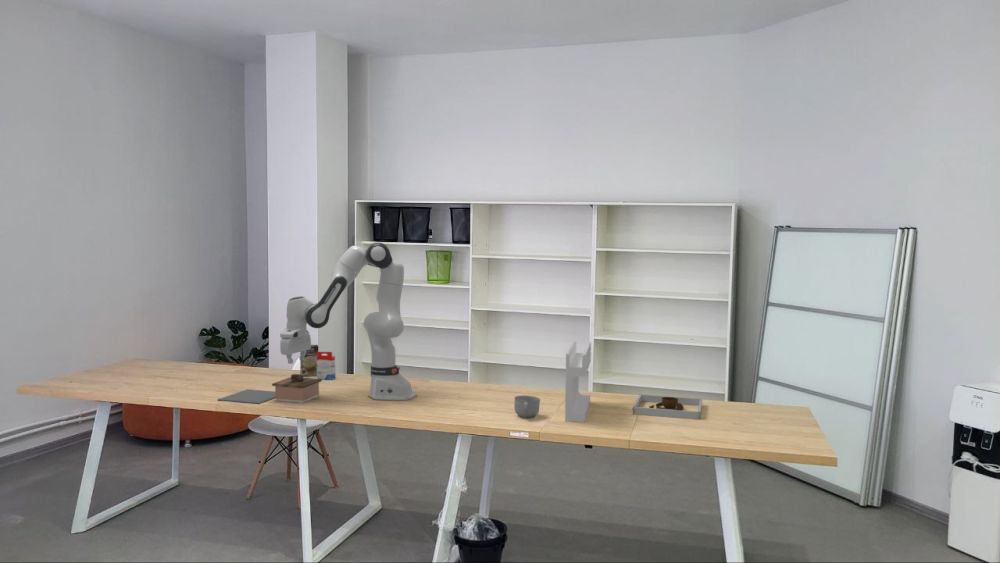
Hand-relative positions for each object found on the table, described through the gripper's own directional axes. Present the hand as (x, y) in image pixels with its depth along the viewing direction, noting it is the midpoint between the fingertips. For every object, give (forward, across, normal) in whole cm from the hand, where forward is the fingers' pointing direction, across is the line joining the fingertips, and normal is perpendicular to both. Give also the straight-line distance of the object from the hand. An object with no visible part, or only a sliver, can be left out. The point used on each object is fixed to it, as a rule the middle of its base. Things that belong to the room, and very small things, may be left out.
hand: (296, 361), depth 342 cm
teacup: (+16, -2, +110) cm, 111 cm away
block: (+15, -18, +128) cm, 131 cm away
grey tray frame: (+14, -34, +165) cm, 169 cm away
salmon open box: (+17, 0, 0) cm, 17 cm away
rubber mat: (+17, +4, -20) cm, 27 cm away
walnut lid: (+10, 0, 0) cm, 10 cm away
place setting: (+15, -33, +165) cm, 169 cm away
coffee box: (+17, -48, -23) cm, 56 cm away
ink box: (+17, -43, -10) cm, 47 cm away
